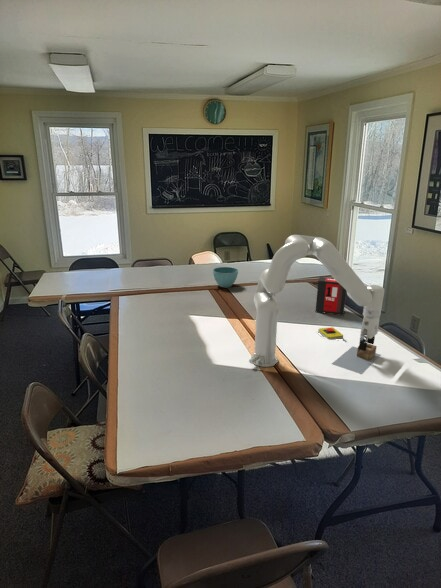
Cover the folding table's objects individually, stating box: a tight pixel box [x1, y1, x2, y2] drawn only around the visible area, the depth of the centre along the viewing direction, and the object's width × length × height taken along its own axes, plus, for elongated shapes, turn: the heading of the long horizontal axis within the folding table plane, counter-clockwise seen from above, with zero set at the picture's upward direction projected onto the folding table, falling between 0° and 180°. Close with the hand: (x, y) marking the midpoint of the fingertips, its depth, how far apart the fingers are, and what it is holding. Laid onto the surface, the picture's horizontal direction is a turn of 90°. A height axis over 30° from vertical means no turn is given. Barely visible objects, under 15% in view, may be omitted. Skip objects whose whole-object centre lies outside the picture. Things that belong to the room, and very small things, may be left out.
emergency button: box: [317, 326, 344, 340], centre depth 214 cm, size 9×4×15 cm
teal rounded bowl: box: [212, 266, 239, 289], centre depth 296 cm, size 18×18×12 cm
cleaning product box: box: [315, 276, 347, 316], centre depth 248 cm, size 16×9×20 cm, turn 71°
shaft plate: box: [331, 346, 382, 375], centre depth 187 cm, size 24×14×6 cm, turn 140°
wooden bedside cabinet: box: [357, 342, 378, 360], centre depth 190 cm, size 6×6×5 cm
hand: (366, 346), depth 189 cm, fingers open, 9 cm apart
